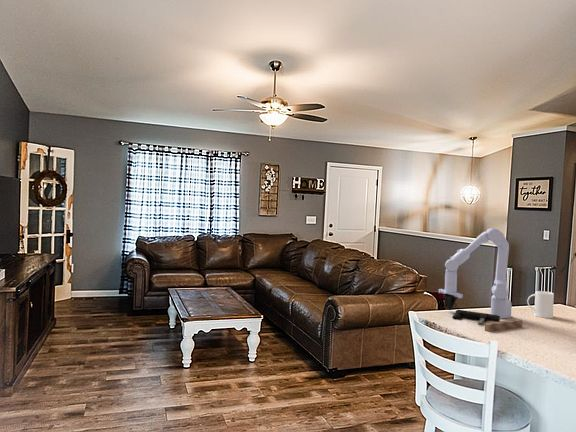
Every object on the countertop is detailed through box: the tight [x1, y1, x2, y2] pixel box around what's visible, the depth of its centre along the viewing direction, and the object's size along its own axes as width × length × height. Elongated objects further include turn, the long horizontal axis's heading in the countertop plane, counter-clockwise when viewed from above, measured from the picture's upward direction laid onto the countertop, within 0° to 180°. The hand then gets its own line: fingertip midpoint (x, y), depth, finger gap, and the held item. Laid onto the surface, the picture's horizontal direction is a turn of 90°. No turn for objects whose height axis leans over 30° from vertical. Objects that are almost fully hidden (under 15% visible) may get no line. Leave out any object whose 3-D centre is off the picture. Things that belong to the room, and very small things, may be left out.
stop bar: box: [484, 318, 523, 333], centre depth 198 cm, size 22×2×3 cm, turn 116°
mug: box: [526, 290, 555, 319], centre depth 225 cm, size 12×8×12 cm
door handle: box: [451, 309, 501, 326], centre depth 212 cm, size 3×20×16 cm
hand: (449, 309), depth 227 cm, fingers closed
